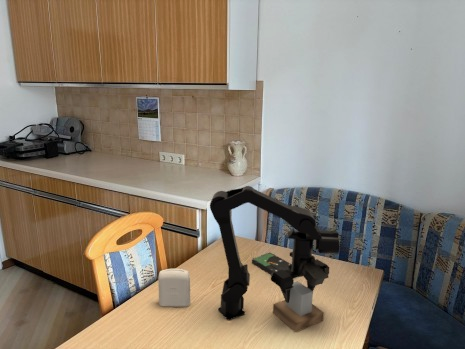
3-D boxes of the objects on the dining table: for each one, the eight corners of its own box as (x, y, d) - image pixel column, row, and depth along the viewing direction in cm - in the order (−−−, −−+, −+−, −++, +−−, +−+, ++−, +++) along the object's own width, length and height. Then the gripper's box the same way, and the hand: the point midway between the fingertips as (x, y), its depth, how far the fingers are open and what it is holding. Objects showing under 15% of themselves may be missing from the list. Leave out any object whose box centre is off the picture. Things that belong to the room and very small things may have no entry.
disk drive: (295, 272, 141) (269, 257, 152) (295, 265, 140) (269, 251, 151) (276, 280, 134) (251, 264, 146) (276, 273, 134) (251, 257, 145)
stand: (295, 332, 104) (296, 323, 104) (272, 312, 113) (273, 304, 113) (322, 320, 110) (323, 312, 109) (299, 302, 119) (299, 294, 118)
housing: (285, 304, 113) (286, 284, 111) (296, 300, 115) (297, 280, 113) (300, 316, 107) (301, 295, 105) (311, 311, 109) (313, 291, 108)
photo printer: (157, 307, 115) (156, 272, 112) (160, 299, 119) (159, 265, 116) (189, 308, 115) (189, 273, 112) (191, 300, 119) (191, 266, 116)
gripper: (296, 270, 95) (292, 321, 99) (344, 255, 105) (339, 302, 108) (271, 254, 104) (268, 301, 108) (317, 241, 114) (313, 285, 117)
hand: (298, 298), depth 110 cm, fingers open, 9 cm apart
